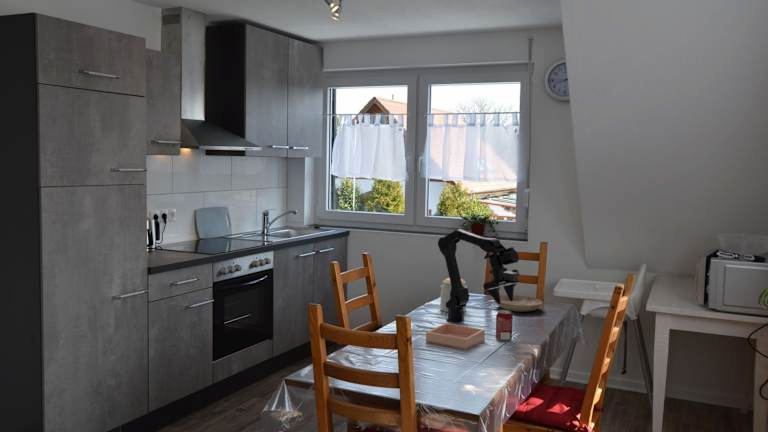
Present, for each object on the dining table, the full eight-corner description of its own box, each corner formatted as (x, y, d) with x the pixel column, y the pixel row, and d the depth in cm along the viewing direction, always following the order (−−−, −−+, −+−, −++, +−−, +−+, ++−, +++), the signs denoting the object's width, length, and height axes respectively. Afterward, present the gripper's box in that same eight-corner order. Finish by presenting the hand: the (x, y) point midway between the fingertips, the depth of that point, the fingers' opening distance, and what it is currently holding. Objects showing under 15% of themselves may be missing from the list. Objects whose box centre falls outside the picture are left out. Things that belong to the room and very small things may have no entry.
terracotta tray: (425, 342, 280) (426, 332, 280) (445, 333, 295) (446, 323, 295) (466, 350, 271) (466, 339, 270) (484, 340, 286) (484, 329, 286)
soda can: (511, 342, 284) (512, 313, 283) (494, 341, 285) (496, 312, 284) (511, 337, 291) (513, 310, 289) (495, 336, 292) (496, 309, 291)
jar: (470, 309, 340) (472, 274, 338) (459, 314, 329) (460, 278, 327) (447, 305, 347) (448, 271, 345) (435, 310, 336) (436, 275, 334)
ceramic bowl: (513, 316, 328) (514, 306, 327) (484, 306, 348) (485, 296, 348) (551, 312, 338) (552, 302, 338) (521, 302, 359) (521, 292, 358)
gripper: (499, 265, 287) (508, 302, 285) (524, 261, 300) (532, 296, 298) (478, 270, 295) (487, 306, 293) (503, 266, 308) (511, 300, 306)
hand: (505, 302), depth 297 cm, fingers open, 9 cm apart
